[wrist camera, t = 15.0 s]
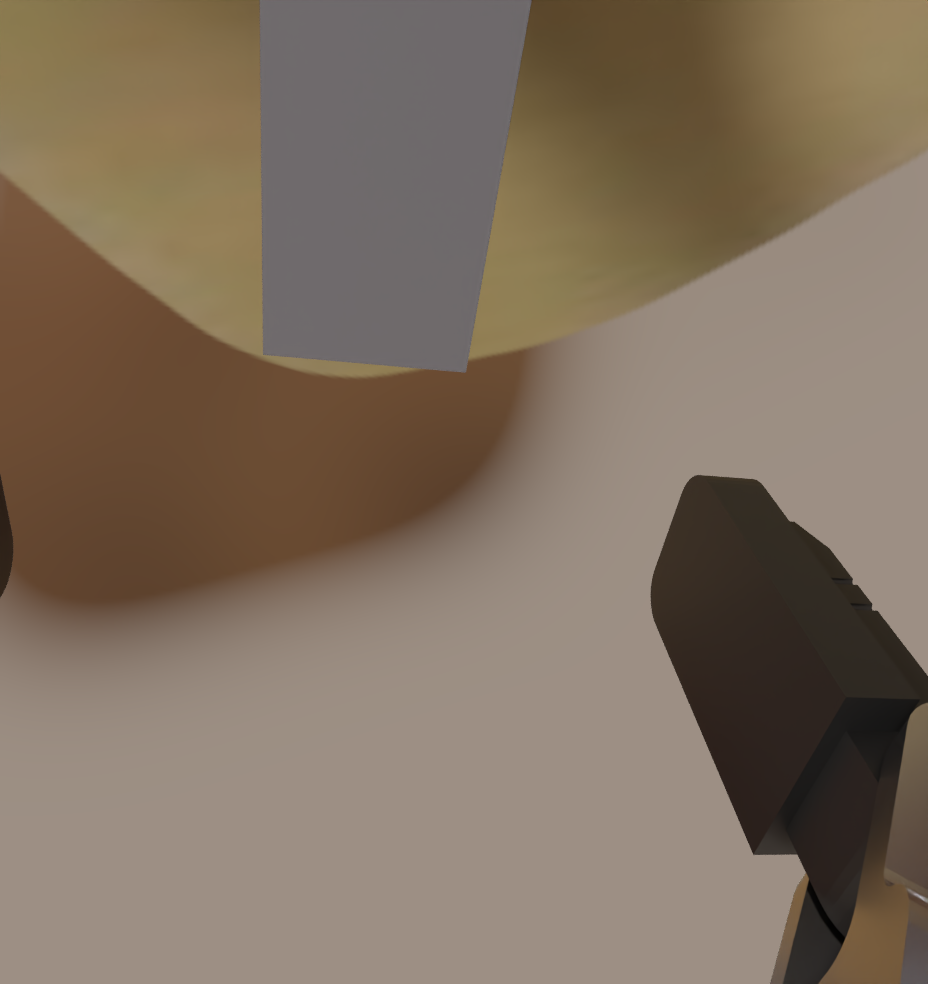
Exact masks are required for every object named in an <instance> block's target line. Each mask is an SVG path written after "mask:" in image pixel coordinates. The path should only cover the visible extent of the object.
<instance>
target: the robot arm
mask: <svg viewBox="0 0 928 984" xmlns="http://www.w3.org/2000/svg"><path fill="white" fill-rule="evenodd" d="M12 560H13V536H12V530H11V525H10V521H9V516H8V511H7V506H6V501H5V496H4V491H3V486H2V481H1V476H0V597H1V596H2V594H3V592H4V590H5V588H6V585H7V582H8V579H9V576H10V572H11V567H12ZM852 580H853V579H852V577H851V576H850V575H849V574H848V572H847V571H846V569H845V568H844V567H843V566H842V564H841V563H840V562H839V560H838V559H837V558H836V557H835V555H834V554H833V553H832V551H831V550H830V549H829V548H828V547H827V546H825V545H824V544H823V543H821V542H820V541H819V540H817V539H816V538H815V537H813V536H812V535H811V534H809V533H808V532H807V531H806V530H804V529H803V528H802V527H800V526H799V525H798V524H796V523H795V522H790V521H789V520H788V519H787V517H786V516H785V515H784V513H783V512H782V511H781V509H780V508H779V507H778V505H777V504H776V502H775V501H774V500H773V498H772V497H771V496H770V494H769V493H768V492H767V490H766V489H765V488H764V486H763V485H762V484H761V483H760V482H758V481H757V480H754V479H743V478H729V477H717V476H702V475H697V476H694V477H692V478H691V479H690V480H689V481H688V482H687V484H686V485H685V487H684V489H683V492H682V494H681V497H680V500H679V503H678V506H677V509H676V511H675V514H674V517H673V520H672V522H671V525H670V528H669V531H668V534H667V537H666V539H665V542H664V545H663V548H662V551H661V554H660V557H659V559H658V562H657V565H656V568H655V571H654V574H653V578H652V585H651V608H652V614H653V618H654V621H655V624H656V626H657V629H658V631H659V633H660V636H661V638H662V640H663V643H664V645H665V647H666V650H667V652H668V655H669V657H670V659H671V661H672V664H673V666H674V669H675V671H676V673H677V676H678V678H679V680H680V683H681V685H682V688H683V690H684V692H685V695H686V697H687V699H688V702H689V704H690V706H691V709H692V711H693V713H694V716H695V718H696V720H697V723H698V725H699V727H700V730H701V732H702V735H703V737H704V739H705V742H706V744H707V746H708V749H709V751H710V753H711V756H712V758H713V760H714V763H715V765H716V767H717V770H718V772H719V775H720V777H721V779H722V782H723V784H724V786H725V789H726V791H727V794H728V795H729V798H730V801H731V803H732V805H733V808H734V810H735V812H736V815H737V817H738V819H739V821H740V824H741V826H742V829H743V831H744V833H745V836H746V838H747V841H748V843H749V845H750V848H751V850H752V852H753V854H754V855H777V854H779V855H780V854H798V857H799V859H800V861H801V863H802V865H803V867H804V869H805V871H806V873H805V875H804V876H803V878H802V879H801V881H800V882H799V884H798V885H797V887H796V890H795V892H794V895H793V900H792V903H791V907H790V911H789V914H788V918H787V922H786V925H785V929H784V933H783V937H782V941H781V944H780V948H779V952H778V956H777V959H776V963H775V967H774V971H773V975H772V978H771V982H770V984H928V676H927V675H926V673H925V672H924V671H923V669H922V668H921V667H920V666H919V664H918V663H917V662H916V660H915V659H914V658H913V656H912V655H911V654H910V652H909V651H908V650H907V649H906V647H905V646H904V645H903V643H902V642H901V641H900V639H899V638H898V637H897V636H896V634H895V633H894V632H893V630H892V629H891V628H890V626H889V625H888V624H887V623H886V621H885V620H884V619H883V618H882V616H881V615H880V614H879V612H878V611H872V603H871V602H870V601H869V599H868V598H867V597H866V595H865V594H864V593H863V592H862V590H861V589H860V588H859V586H858V585H853V584H852Z"/></svg>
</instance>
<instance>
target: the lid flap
mask: <svg viewBox="0 0 928 984" xmlns="http://www.w3.org/2000/svg"><path fill="white" fill-rule="evenodd" d="M531 1H532V0H260V77H261V178H262V280H263V355H273V356H284V357H295V358H307V359H318V360H330V361H341V362H352V363H364V364H375V365H387V366H398V367H409V368H421V369H432V370H444V371H456V372H466V367H467V362H468V357H469V351H470V345H471V340H472V334H473V328H474V323H475V317H476V312H477V306H478V300H479V295H480V289H481V283H482V278H483V272H484V266H485V261H486V255H487V249H488V244H489V238H490V232H491V227H492V221H493V216H494V210H495V204H496V199H497V193H498V187H499V182H500V176H501V170H502V165H503V159H504V153H505V148H506V142H507V137H508V131H509V125H510V120H511V114H512V108H513V103H514V97H515V91H516V86H517V80H518V74H519V69H520V63H521V57H522V52H523V46H524V41H525V35H526V29H527V24H528V18H529V12H530V7H531Z"/></svg>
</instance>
